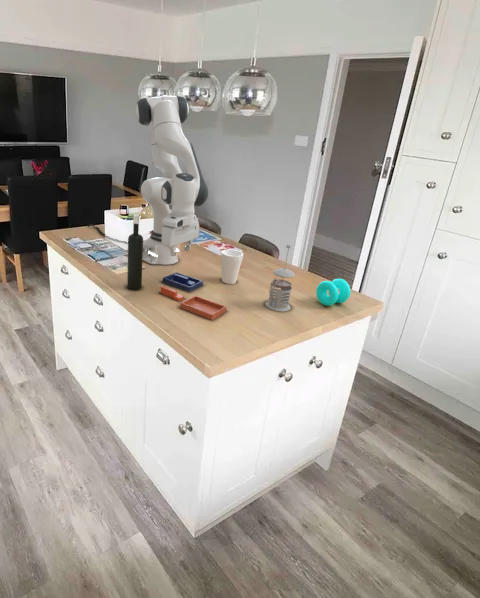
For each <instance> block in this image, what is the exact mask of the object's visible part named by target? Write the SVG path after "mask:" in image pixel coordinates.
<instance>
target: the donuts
mask: <svg viewBox="0 0 480 598" xmlns="http://www.w3.org/2000/svg"><path fill="white" fill-rule="evenodd" d="M315 293H316V298H317V301H318V302H319V303H320V304H321V305H323V306H327V307H330V306H333V305H335V304H336V303H337V304H344V303H346V302H347V301H348V300H349V298H350V297H351V287H350V284H349V282H347V281H346V280H345V279H343V278H335V279H333V280H332V281H330V280H322V281H321V282H320V283H319V284H318V285H317V286H316V290H315Z"/></svg>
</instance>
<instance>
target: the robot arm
mask: <svg viewBox="0 0 480 598" xmlns="http://www.w3.org/2000/svg"><path fill="white" fill-rule="evenodd" d="M136 102H137V103H136V106H135V116H136V119H137V120H138V123H139V124H140V125H141V126H150V135H149V136H150V137H149V139H150V140H149V141H150V152H151V161H152V164H153V166H154V168H156V169H158V170H159V171H160V172H161V173H162V176H163V177H152V178H149V179H145V180H144V181H143V182H142V184H141V186H140V195H141V197H142V199H143V201H144V202H146V203H147V204H148V205H149V207H150V208H151V211H152V215H153V217H152V218H153V228H152V230H150V231H149V232H148V235H150V236H149V237H148V238H147V239H143V259H142V262H146V263H147V264H149V265H162V266H163V265H167V266H168V265H173V264H177V263H178V262H179V257H178V252H180V250H179V249H178V248H177V246H178V245H182V244H184V243H186V244H185V246H184V251H185V252H190V251H191V247H192V244H193V241H194V240H197V239H198V238H199V236H200V222H199V218H198V216H197V215H195V212H196V211H195V207H201V206H203V205H204V204H205V203H206V201H207V200H208V198H209V188H208V185H207V184H206V183H207V182H206V181H205V179H204V177H203V174H202V170H201V167H200V163H199V160H198V157H197V154H196V151H195V148H194V145H193V144H192V142H190V141H189V140H188V139H187V137H186V136H185V134H184V132H183V128H182V124H183V123H185V121H186V120H187V119H188V115H189V112H190V109H189V105H188V101H187V98H186V97H185V96H182V95H161V96H152V97H143V98H140V99H139V100H138V101H136ZM178 159H180V160H181V161H182V162H183V163H184V164H185V168H186V171H187V173H185V172H183V170H182V169H181V167H180V165H179V161H178ZM170 206H171V209H170ZM91 226H92V227H94V228H95V229H97V230H98V232H99V233H100V234H101V235H102V236H104V237H106V236H105V235H106V233H104V232H103V231H101V229H100V228H99V227H98V226H96V225H95V224H93V223H88V224H87V226H86V227H91ZM95 226H96V227H95Z"/></svg>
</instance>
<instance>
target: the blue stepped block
mask: <svg viewBox="0 0 480 598" xmlns="http://www.w3.org/2000/svg"><path fill="white" fill-rule="evenodd" d="M173 280H174V281H177V282H180V283H183V284H185V285H186V286H189V287H190V286H192V285H194V284H195V282H192V281H189V278H187V277H184V276H181V275H178V274H174V275H173Z"/></svg>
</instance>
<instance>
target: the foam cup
mask: <svg viewBox="0 0 480 598" xmlns="http://www.w3.org/2000/svg"><path fill="white" fill-rule="evenodd" d="M220 259H221V260H220V265H221V266H220V267H221V269H220V270H221V282H222V283H224V284H227V285H228V284H229V285H234V284H236V283H237V279H238V277H239V273H240V269H241V265H242V262H243V260H244V252H242V251H240V250H238V249H237V250H236V249H223V250H221V252H220Z"/></svg>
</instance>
